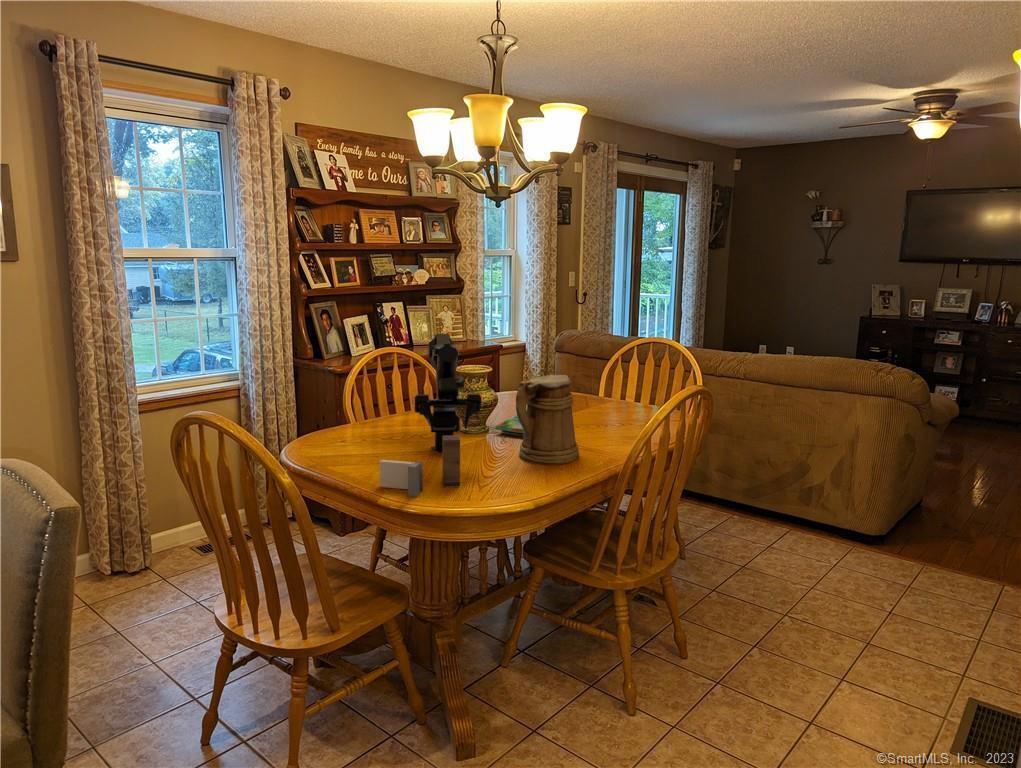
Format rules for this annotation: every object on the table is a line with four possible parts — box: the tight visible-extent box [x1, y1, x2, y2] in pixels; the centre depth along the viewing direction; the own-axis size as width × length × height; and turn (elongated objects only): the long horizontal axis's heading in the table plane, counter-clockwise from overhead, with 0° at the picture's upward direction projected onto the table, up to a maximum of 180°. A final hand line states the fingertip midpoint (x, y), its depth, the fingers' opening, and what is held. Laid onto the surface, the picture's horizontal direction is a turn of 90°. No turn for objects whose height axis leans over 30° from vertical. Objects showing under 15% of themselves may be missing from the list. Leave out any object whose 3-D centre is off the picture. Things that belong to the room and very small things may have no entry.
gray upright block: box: [407, 463, 421, 498], centre depth 181 cm, size 3×2×8 cm, turn 167°
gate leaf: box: [379, 459, 424, 491], centre depth 186 cm, size 12×2×7 cm, turn 78°
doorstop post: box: [441, 434, 461, 488], centre depth 189 cm, size 4×4×13 cm
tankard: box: [515, 374, 580, 466], centre depth 213 cm, size 18×24×25 cm
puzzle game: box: [495, 414, 524, 437], centre depth 246 cm, size 12×5×20 cm
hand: (449, 428), depth 196 cm, fingers open, 9 cm apart
